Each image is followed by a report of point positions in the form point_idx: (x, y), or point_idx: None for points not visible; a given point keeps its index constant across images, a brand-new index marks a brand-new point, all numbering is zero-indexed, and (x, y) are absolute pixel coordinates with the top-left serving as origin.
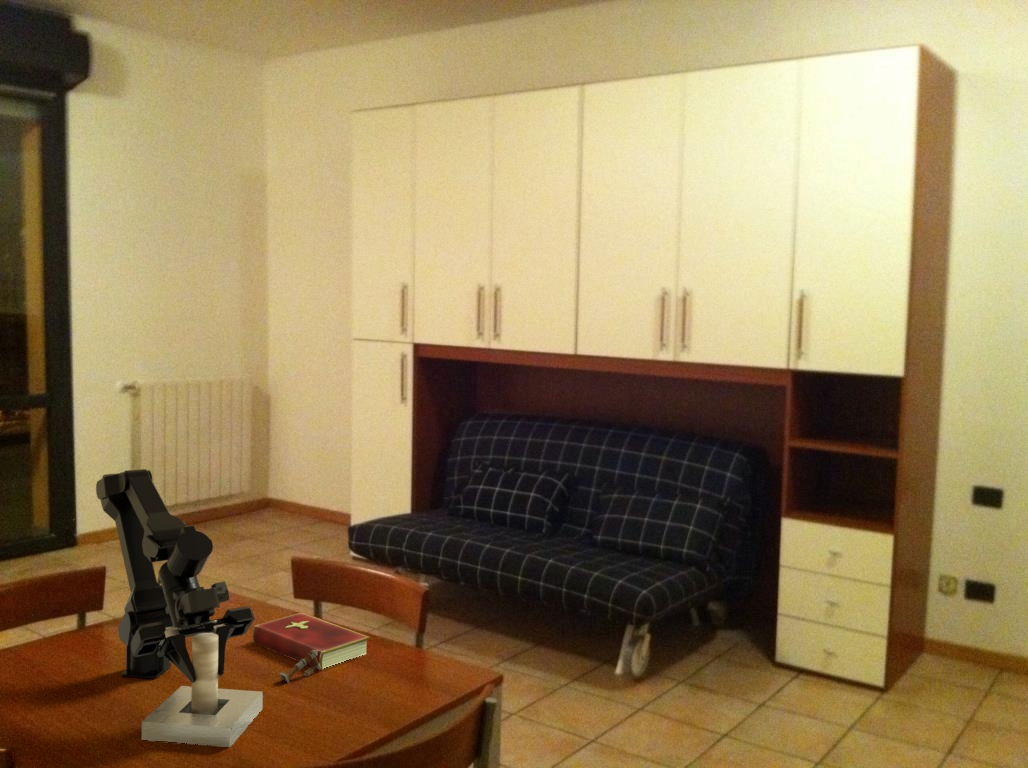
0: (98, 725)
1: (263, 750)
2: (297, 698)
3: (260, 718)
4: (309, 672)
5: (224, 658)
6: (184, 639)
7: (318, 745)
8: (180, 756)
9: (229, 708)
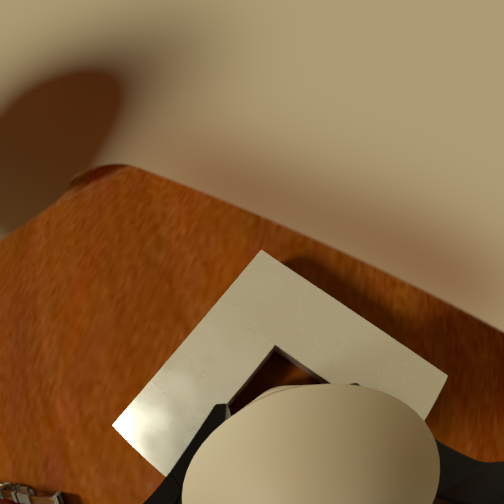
0: None
1: (207, 230)
2: (62, 420)
3: None
4: (23, 487)
5: (186, 448)
6: (469, 499)
7: (123, 210)
8: (364, 274)
9: (225, 371)
